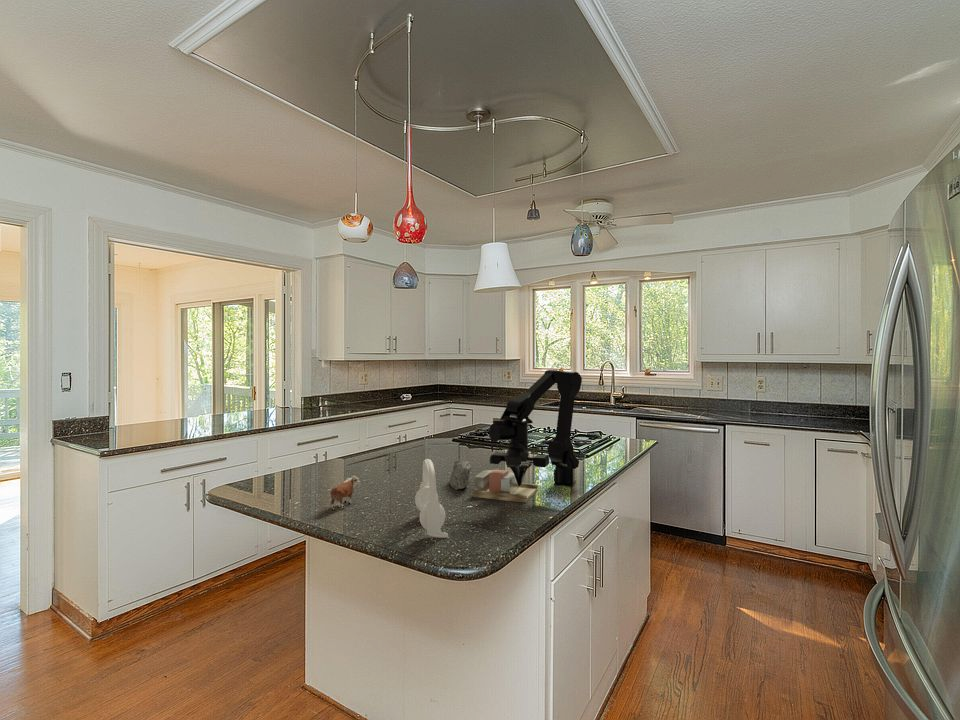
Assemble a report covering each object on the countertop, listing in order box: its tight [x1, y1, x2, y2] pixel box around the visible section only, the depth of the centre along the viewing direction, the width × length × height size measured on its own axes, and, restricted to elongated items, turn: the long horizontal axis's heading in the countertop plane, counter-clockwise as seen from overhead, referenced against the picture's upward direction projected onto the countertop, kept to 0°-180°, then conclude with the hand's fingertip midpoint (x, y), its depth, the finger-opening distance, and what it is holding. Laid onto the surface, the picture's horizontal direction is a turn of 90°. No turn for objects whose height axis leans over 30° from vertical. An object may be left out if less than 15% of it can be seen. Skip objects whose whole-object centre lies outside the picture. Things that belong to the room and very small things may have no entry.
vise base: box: [471, 469, 539, 503], centre depth 165 cm, size 18×14×6 cm
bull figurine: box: [330, 475, 361, 508], centre depth 155 cm, size 4×13×8 cm, turn 161°
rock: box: [449, 459, 472, 491], centre depth 175 cm, size 15×8×10 cm, turn 178°
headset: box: [414, 458, 449, 539], centre depth 136 cm, size 20×7×18 cm, turn 12°
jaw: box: [501, 471, 519, 494], centre depth 164 cm, size 3×10×5 cm, turn 159°
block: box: [489, 469, 509, 492], centre depth 166 cm, size 5×5×6 cm
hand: (519, 485), depth 163 cm, fingers closed
